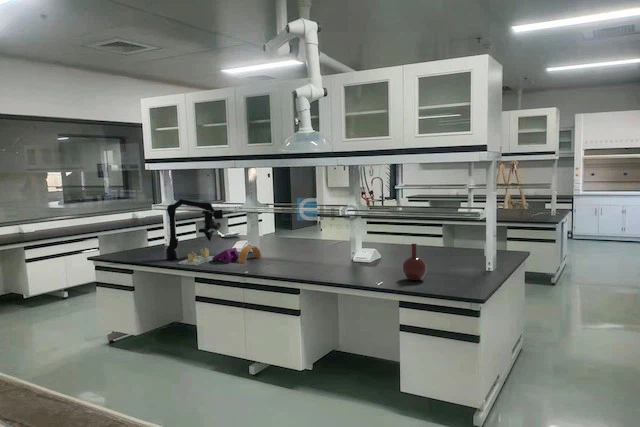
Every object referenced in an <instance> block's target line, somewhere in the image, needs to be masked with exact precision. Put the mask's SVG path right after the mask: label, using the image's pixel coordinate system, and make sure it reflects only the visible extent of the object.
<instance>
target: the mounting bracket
mask: <svg viewBox="0 0 640 427" xmlns="http://www.w3.org/2000/svg"><path fill="white" fill-rule="evenodd" d="M239 255H240V254H239V253H238V250H237V247H233V248H227V249H225V250H223V251H221V252H220V253H218V254H216V255H215V256H214V255H213V256H214V257H213V258H212V259H213V260H212V262H216V261H219V260H220V261H221V262H222V263H223V264H230V263H231V262H236V261H239Z"/></svg>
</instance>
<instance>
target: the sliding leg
mask: <svg viewBox="0 0 640 427" xmlns="http://www.w3.org/2000/svg"><path fill="white" fill-rule="evenodd" d="M209 251H210V250H209V248H207V246H206V247H202V248H201V249H200V256H204V257H206V256H210V253H209Z"/></svg>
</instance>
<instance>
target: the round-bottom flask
mask: <svg viewBox="0 0 640 427" xmlns="http://www.w3.org/2000/svg"><path fill="white" fill-rule="evenodd" d="M417 245H418V244H417V243H411V244H410V246H411V256H409V257H407V258H406V259H404V260H403V262H402V265H401V271H402V274H403V276H404V277H405V278H406V279H407V280H410V281H413V280H414V281H415V280H416V281H419V280H421V279H423V278H424V277H425V275H426V273H427V264H426V262H425V261H424V259H423V258H422V257H419V256H417Z"/></svg>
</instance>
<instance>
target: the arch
mask: <svg viewBox="0 0 640 427" xmlns="http://www.w3.org/2000/svg"><path fill="white" fill-rule="evenodd" d="M250 251H252V253H253V258H255V259H262V253H261V250H260V248H259V247H257V246H256V245H255V246H254V245H253V246H252V245H245V246H244V247H243V248H242V249H241V250H240V253H239V254H238V255H239V258H238V263H240V264H246V263H247V257H248V253H249V252H250Z"/></svg>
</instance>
